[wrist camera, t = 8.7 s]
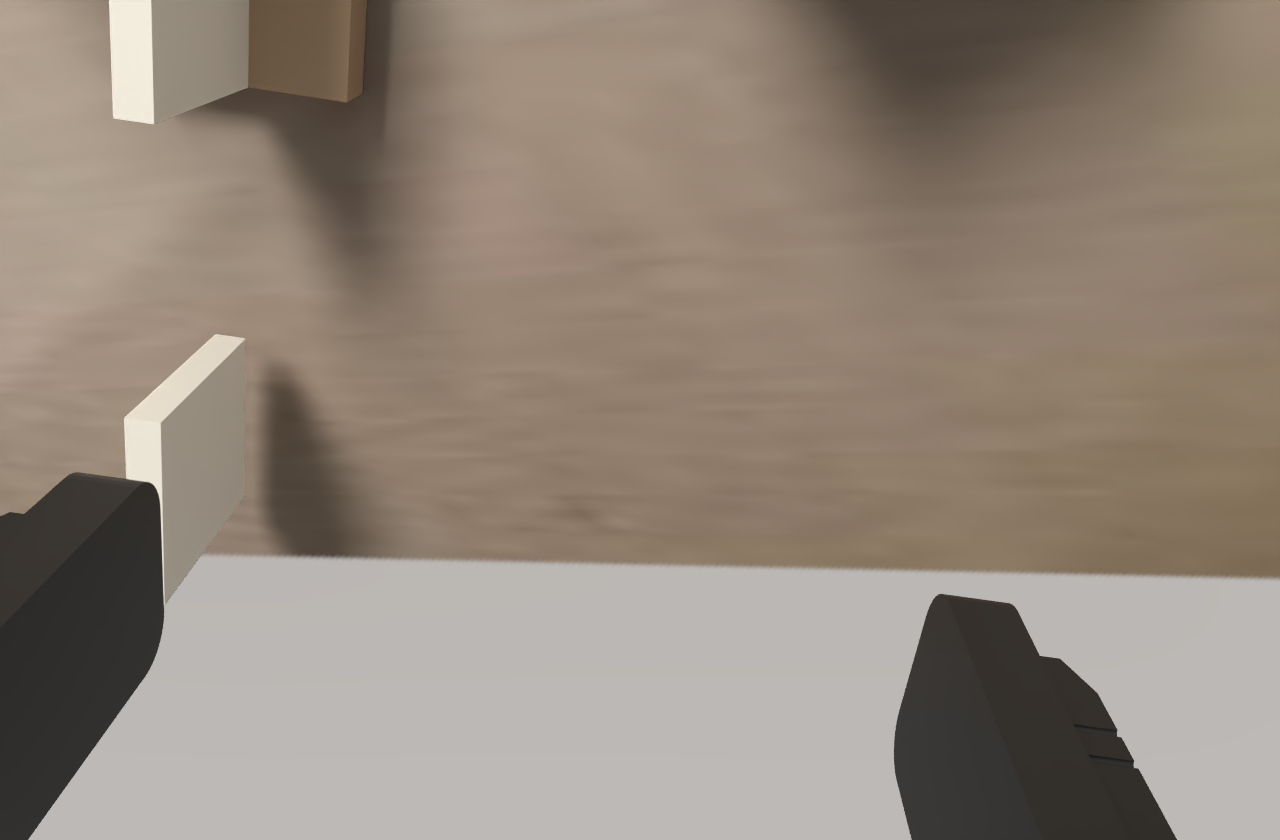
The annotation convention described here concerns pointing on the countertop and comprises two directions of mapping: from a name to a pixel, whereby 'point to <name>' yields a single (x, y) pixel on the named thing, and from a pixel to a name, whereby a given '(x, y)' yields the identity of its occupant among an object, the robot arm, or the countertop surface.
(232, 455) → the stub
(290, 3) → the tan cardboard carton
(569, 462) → the countertop surface
